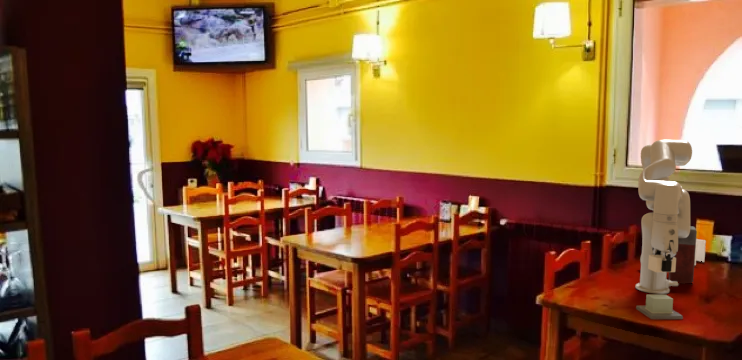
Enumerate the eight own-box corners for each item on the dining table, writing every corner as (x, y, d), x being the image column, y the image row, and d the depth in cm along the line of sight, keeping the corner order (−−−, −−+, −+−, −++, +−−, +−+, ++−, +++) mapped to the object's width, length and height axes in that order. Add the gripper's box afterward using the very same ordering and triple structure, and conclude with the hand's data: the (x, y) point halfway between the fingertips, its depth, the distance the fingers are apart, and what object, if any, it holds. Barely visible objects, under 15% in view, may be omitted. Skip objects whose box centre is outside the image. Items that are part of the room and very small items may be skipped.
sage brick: (664, 308, 209) (665, 294, 209) (672, 312, 205) (673, 298, 204) (645, 307, 209) (646, 294, 209) (652, 312, 204) (653, 298, 204)
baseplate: (665, 308, 213) (665, 305, 213) (682, 319, 202) (682, 315, 202) (636, 308, 212) (636, 305, 212) (651, 319, 201) (651, 315, 201)
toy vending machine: (691, 278, 255) (695, 215, 253) (693, 284, 245) (697, 218, 242) (668, 275, 259) (672, 213, 256) (669, 281, 249) (673, 217, 246)
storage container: (680, 258, 294) (682, 236, 293) (704, 262, 285) (705, 240, 284) (657, 265, 278) (659, 242, 277) (681, 270, 270) (683, 246, 268)
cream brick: (666, 268, 208) (667, 254, 208) (675, 272, 203) (676, 258, 203) (648, 268, 207) (648, 254, 207) (656, 272, 202) (657, 258, 202)
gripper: (689, 222, 195) (685, 275, 197) (662, 214, 212) (659, 263, 214) (667, 222, 195) (664, 275, 197) (642, 214, 212) (639, 263, 214)
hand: (661, 268), depth 205 cm, fingers closed on cream brick, 5 cm apart
